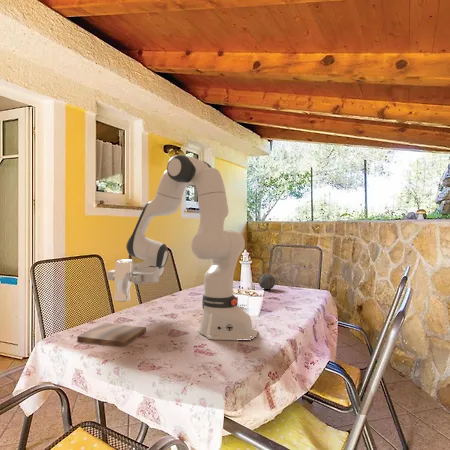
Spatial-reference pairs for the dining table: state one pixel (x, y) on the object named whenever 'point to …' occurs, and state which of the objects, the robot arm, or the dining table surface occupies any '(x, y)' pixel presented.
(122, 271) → the beer glass
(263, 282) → the decorative ball
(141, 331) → the walnut board
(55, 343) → the dining table surface
